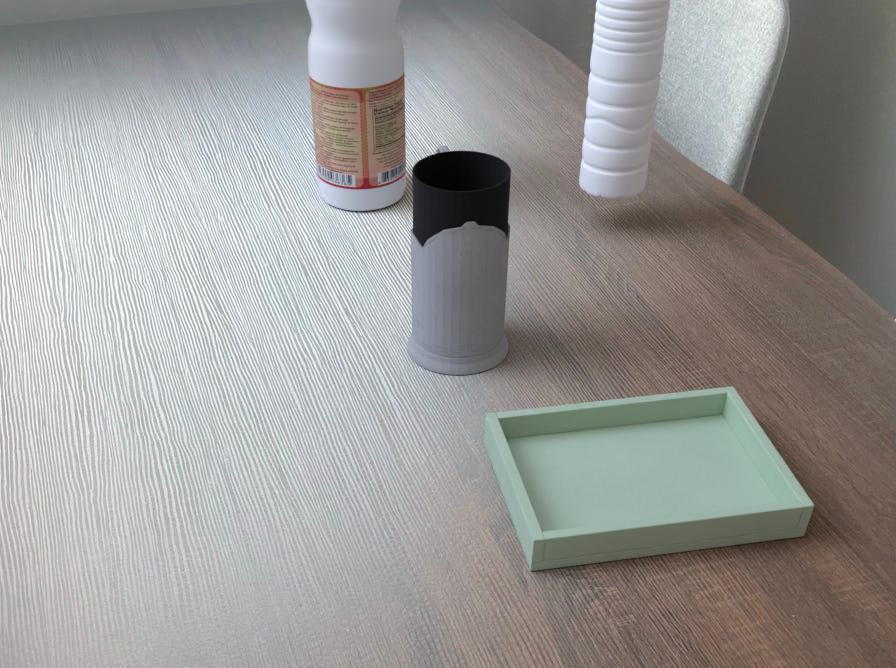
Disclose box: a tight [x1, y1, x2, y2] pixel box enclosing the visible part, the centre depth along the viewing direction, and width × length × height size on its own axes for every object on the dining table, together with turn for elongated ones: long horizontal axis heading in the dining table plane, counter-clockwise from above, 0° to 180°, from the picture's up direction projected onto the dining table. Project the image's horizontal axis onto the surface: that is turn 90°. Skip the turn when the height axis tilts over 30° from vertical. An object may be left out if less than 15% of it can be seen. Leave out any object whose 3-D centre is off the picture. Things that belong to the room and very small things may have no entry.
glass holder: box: [406, 145, 512, 376], centre depth 85 cm, size 9×14×15 cm, turn 9°
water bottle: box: [578, 0, 671, 200], centre depth 93 cm, size 9×6×25 cm
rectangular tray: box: [483, 386, 815, 572], centre depth 74 cm, size 20×15×3 cm
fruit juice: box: [304, 0, 407, 212], centre depth 99 cm, size 9×9×28 cm
